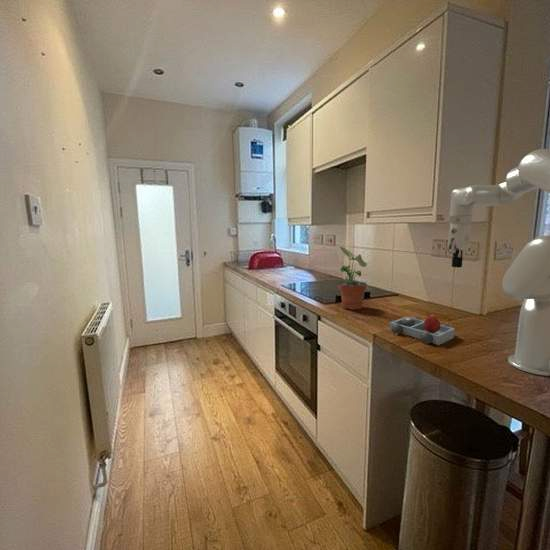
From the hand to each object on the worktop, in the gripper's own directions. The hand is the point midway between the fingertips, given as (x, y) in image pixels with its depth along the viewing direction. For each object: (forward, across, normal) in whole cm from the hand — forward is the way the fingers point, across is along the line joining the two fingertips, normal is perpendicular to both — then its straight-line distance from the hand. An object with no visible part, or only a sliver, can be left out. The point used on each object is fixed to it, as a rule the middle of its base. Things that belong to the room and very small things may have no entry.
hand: (456, 266), depth 122 cm
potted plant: (+27, -4, +48) cm, 55 cm away
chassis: (+27, -14, +6) cm, 31 cm away
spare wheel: (+24, -13, +12) cm, 30 cm away
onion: (+26, -14, +2) cm, 29 cm away
